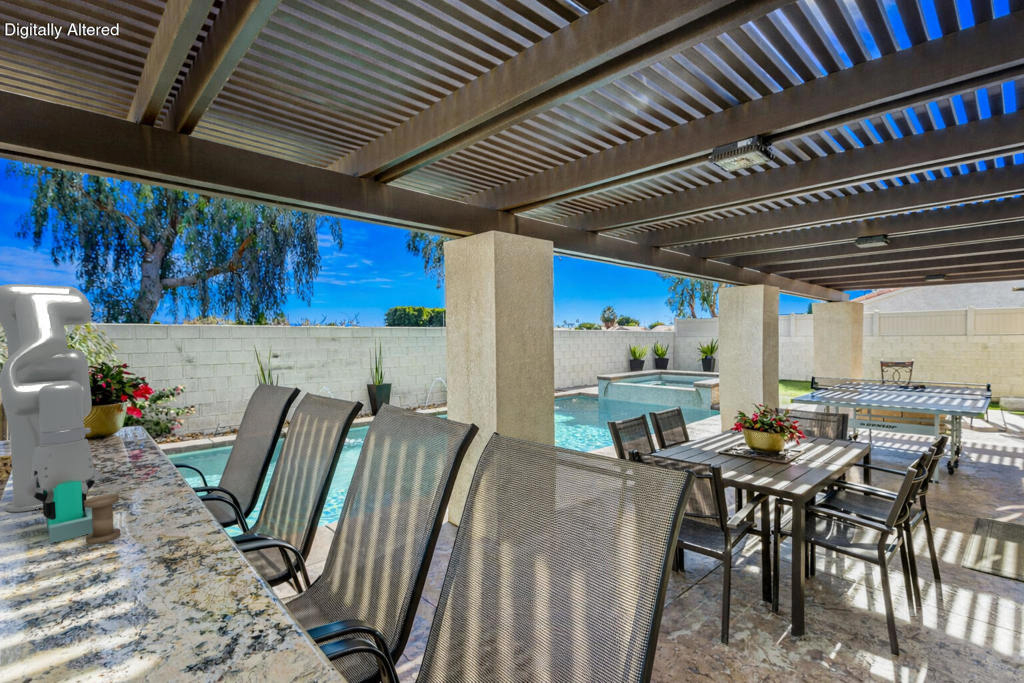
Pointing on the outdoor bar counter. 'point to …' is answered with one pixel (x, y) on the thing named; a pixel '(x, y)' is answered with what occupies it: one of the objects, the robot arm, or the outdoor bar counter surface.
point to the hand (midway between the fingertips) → (65, 513)
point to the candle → (67, 502)
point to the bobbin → (102, 518)
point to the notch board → (71, 528)
